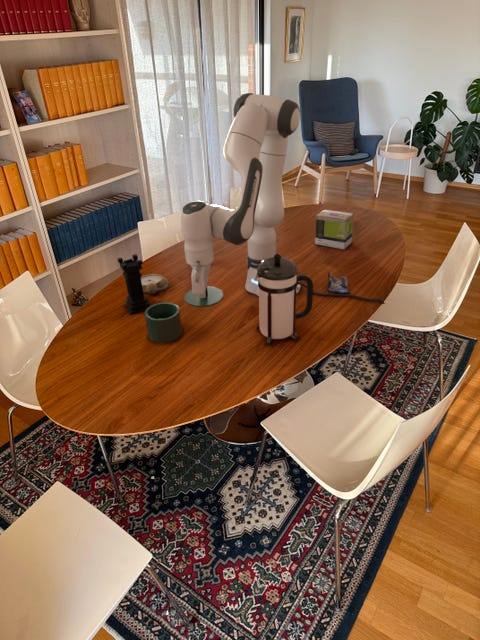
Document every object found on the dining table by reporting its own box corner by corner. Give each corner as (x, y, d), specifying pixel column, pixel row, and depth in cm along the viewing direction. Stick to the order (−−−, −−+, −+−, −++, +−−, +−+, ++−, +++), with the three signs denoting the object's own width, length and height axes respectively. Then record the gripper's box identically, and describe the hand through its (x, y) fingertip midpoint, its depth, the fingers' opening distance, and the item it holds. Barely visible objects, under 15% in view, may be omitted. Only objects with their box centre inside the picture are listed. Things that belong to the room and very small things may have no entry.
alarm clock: (152, 271, 199) (173, 276, 189) (154, 282, 201) (175, 287, 191) (130, 281, 192) (150, 286, 182) (133, 292, 194) (153, 298, 184)
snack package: (357, 286, 187) (331, 278, 193) (358, 273, 183) (331, 265, 189) (344, 303, 181) (317, 294, 186) (345, 290, 176) (317, 281, 182)
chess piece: (131, 314, 176) (121, 266, 165) (125, 305, 182) (115, 258, 171) (151, 308, 179) (143, 261, 168) (144, 299, 185) (137, 253, 174)
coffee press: (289, 352, 151) (291, 269, 135) (247, 339, 159) (244, 258, 143) (311, 326, 164) (316, 247, 148) (271, 315, 171) (271, 238, 155)
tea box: (351, 242, 224) (354, 212, 216) (344, 250, 217) (346, 219, 209) (322, 237, 231) (324, 208, 223) (314, 244, 224) (315, 214, 216)
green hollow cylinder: (184, 325, 168) (181, 302, 163) (179, 343, 158) (176, 320, 153) (152, 325, 169) (148, 302, 163) (145, 344, 159) (141, 320, 154)
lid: (225, 288, 158) (224, 276, 155) (222, 308, 147) (221, 295, 145) (187, 289, 159) (185, 277, 156) (182, 309, 148) (180, 296, 145)
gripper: (206, 269, 136) (210, 310, 143) (212, 241, 153) (216, 279, 160) (184, 270, 136) (190, 310, 143) (193, 242, 153) (197, 279, 161)
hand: (203, 293), depth 152 cm, fingers closed on lid, 2 cm apart
